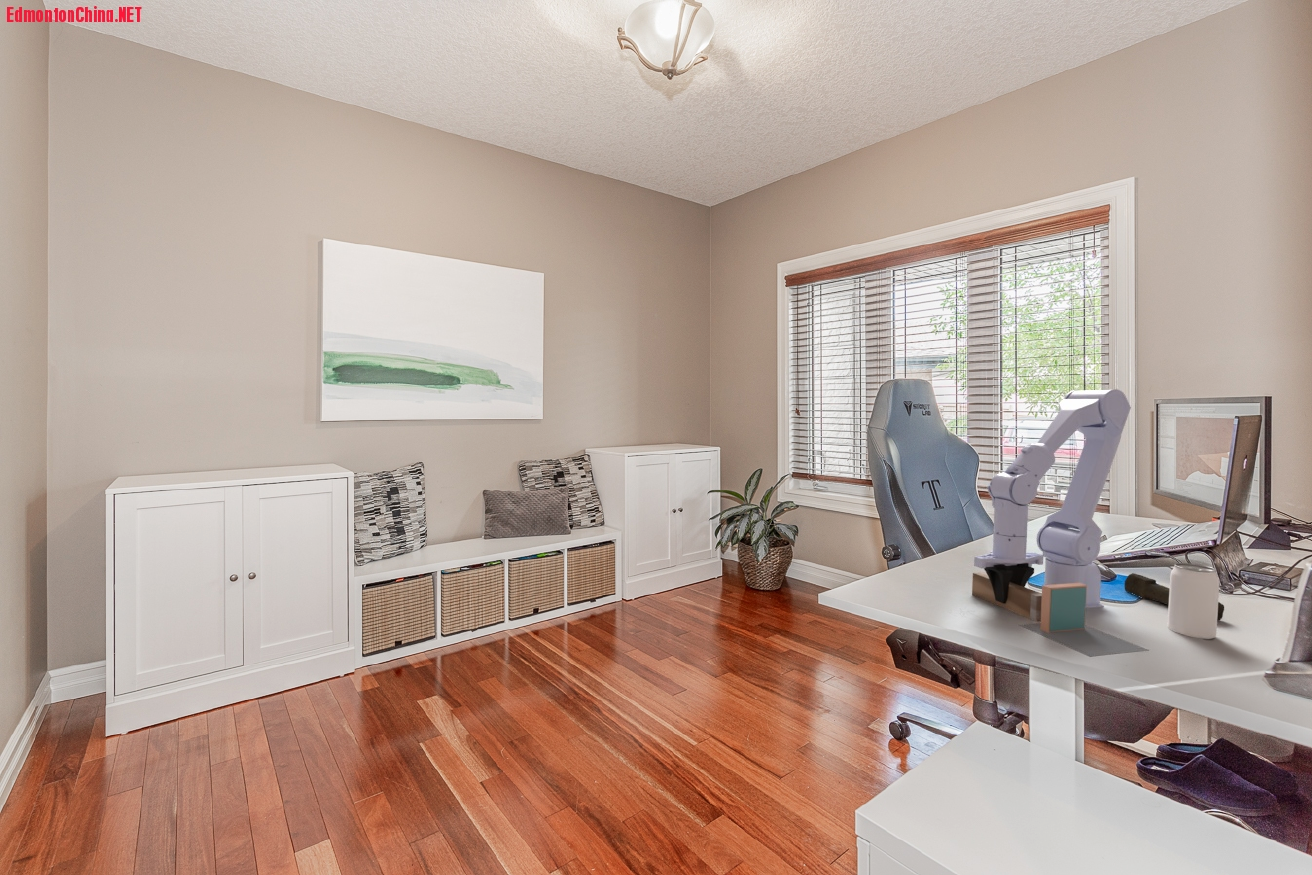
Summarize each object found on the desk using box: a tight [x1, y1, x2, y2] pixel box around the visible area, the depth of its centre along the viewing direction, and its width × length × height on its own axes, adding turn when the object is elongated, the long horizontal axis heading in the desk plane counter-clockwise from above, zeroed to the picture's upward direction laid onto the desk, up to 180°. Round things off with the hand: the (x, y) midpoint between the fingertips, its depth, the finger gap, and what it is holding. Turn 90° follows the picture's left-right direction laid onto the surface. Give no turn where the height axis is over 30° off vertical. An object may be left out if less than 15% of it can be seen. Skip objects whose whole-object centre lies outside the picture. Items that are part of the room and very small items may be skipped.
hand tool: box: [1124, 572, 1225, 622], centre depth 122 cm, size 19×4×5 cm, turn 5°
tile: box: [1040, 583, 1087, 633], centre depth 107 cm, size 8×2×8 cm, turn 103°
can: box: [1167, 562, 1220, 641], centre depth 106 cm, size 6×6×12 cm
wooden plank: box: [971, 571, 1042, 622], centre depth 119 cm, size 3×16×5 cm, turn 13°
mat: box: [1019, 622, 1149, 657], centre depth 104 cm, size 12×14×1 cm
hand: (1007, 601), depth 119 cm, fingers closed on wooden plank, 2 cm apart
